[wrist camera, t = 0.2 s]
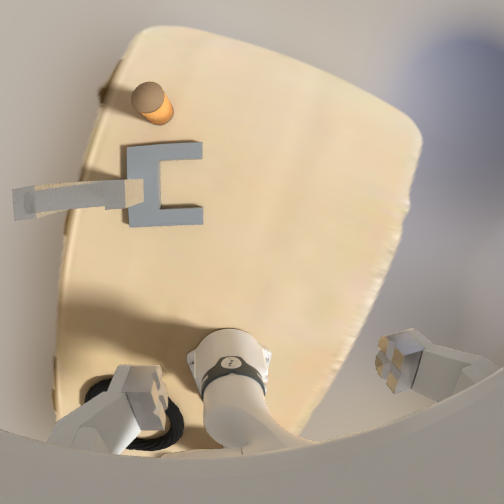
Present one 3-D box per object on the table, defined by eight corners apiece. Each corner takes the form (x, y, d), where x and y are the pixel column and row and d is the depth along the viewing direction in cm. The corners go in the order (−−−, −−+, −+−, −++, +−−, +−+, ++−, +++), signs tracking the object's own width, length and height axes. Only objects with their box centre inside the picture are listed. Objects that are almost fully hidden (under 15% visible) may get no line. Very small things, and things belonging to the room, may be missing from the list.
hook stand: (181, 191, 53) (126, 215, 19) (113, 196, 52) (-8, 227, 17) (181, 175, 53) (124, 172, 18) (113, 180, 51) (-10, 192, 17)
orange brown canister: (173, 124, 50) (162, 110, 38) (147, 126, 49) (130, 113, 38) (174, 99, 49) (164, 80, 37) (148, 101, 48) (132, 83, 37)
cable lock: (202, 414, 63) (159, 467, 67) (202, 404, 66) (160, 458, 71) (95, 365, 56) (74, 430, 61) (100, 356, 60) (77, 421, 64)
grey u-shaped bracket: (203, 222, 55) (202, 224, 53) (132, 225, 54) (129, 227, 52) (202, 143, 52) (201, 142, 50) (129, 148, 50) (126, 147, 48)
